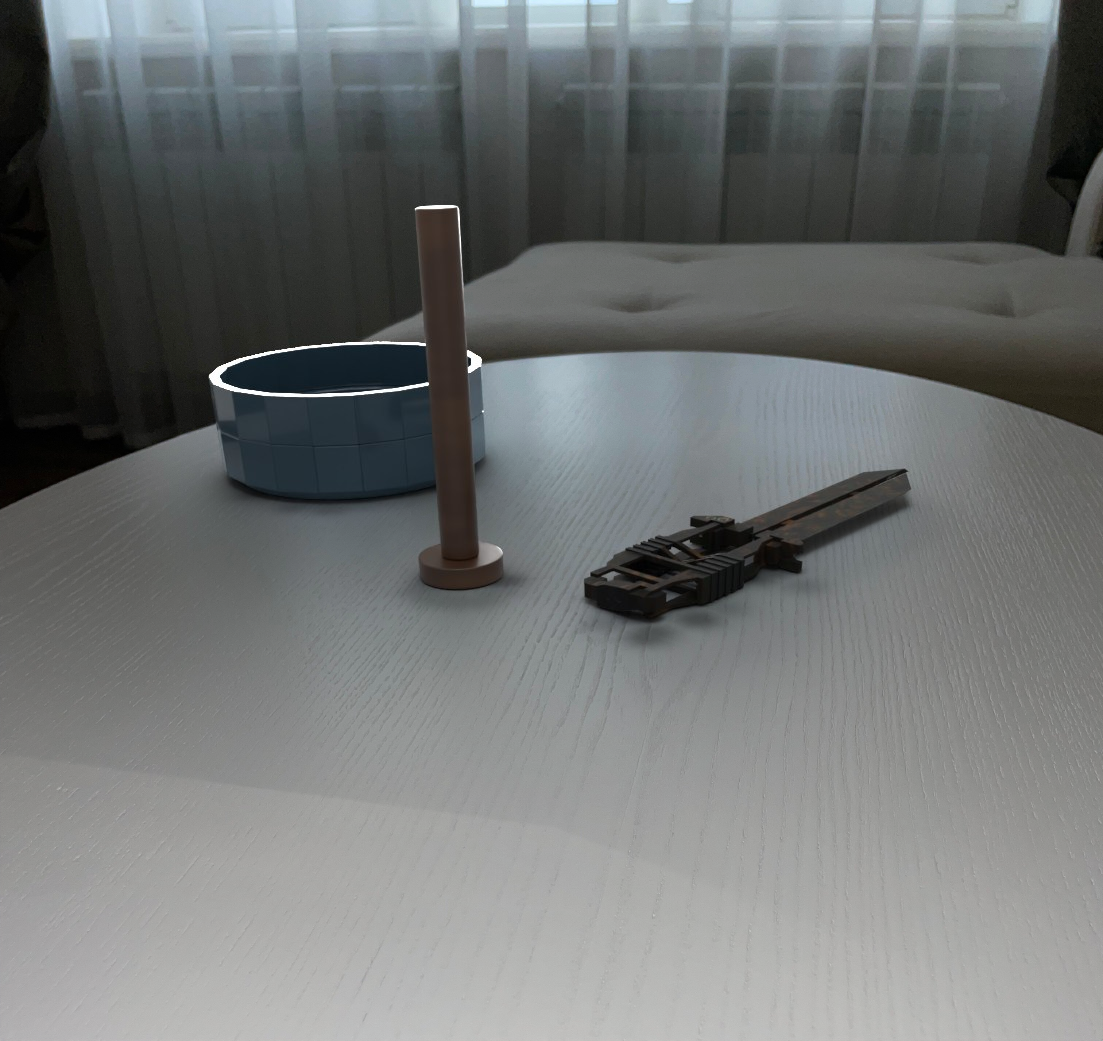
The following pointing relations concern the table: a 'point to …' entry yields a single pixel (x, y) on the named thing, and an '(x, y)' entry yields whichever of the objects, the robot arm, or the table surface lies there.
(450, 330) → the stirrer
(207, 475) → the table surface
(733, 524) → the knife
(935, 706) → the table surface
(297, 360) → the bowl
